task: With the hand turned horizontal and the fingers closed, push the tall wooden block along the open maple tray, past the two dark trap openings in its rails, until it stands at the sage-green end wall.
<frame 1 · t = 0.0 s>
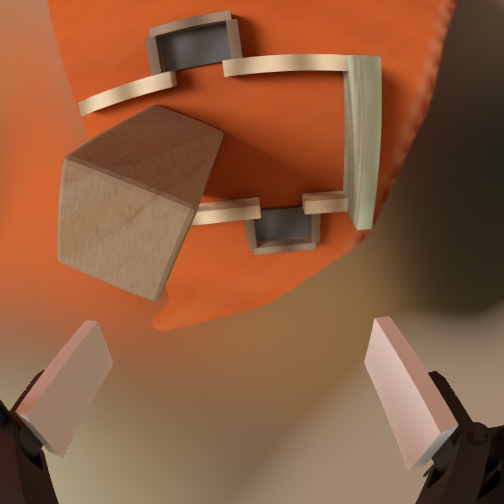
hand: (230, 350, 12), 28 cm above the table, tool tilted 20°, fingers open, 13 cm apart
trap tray: (228, 141, 33), on the table
wooden block: (175, 149, 34), resting in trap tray
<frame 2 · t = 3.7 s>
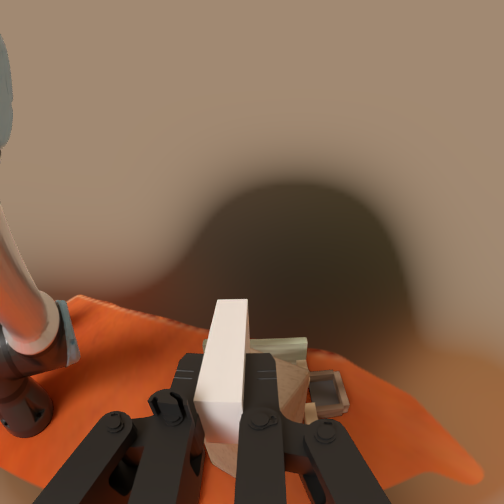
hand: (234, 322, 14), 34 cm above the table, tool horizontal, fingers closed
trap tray: (255, 425, 41), on the table
wooden block: (255, 459, 34), resting in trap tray
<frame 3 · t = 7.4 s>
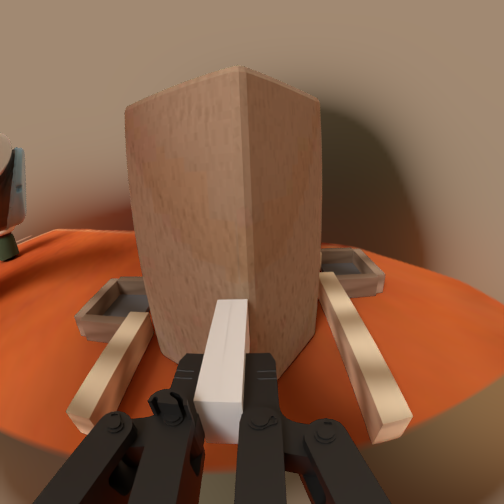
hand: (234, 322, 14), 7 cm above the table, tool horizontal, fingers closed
character mug: (10, 259, 49), on the table
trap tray: (242, 307, 30), on the table
wooden block: (239, 349, 23), resting in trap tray, touching gripper
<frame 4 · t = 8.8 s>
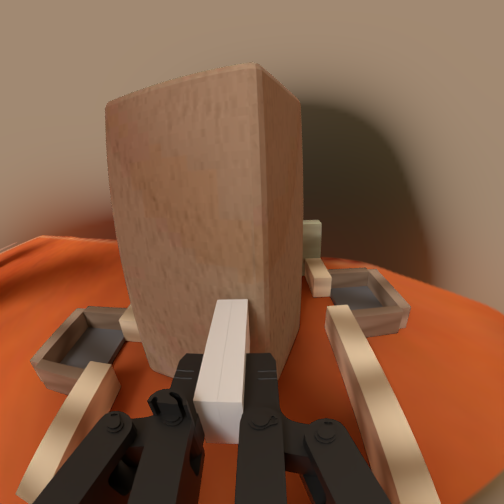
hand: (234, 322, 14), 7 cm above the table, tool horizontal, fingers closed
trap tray: (232, 352, 22), on the table
wooden block: (229, 353, 23), resting in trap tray, touching gripper
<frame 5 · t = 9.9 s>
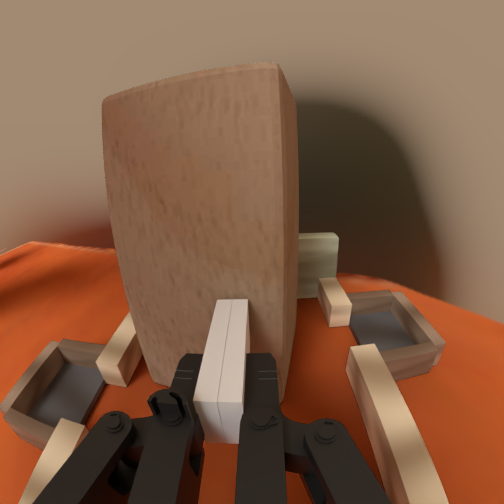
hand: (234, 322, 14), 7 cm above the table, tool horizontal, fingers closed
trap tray: (234, 406, 17), on the table
wooden block: (230, 357, 22), resting in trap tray, touching gripper
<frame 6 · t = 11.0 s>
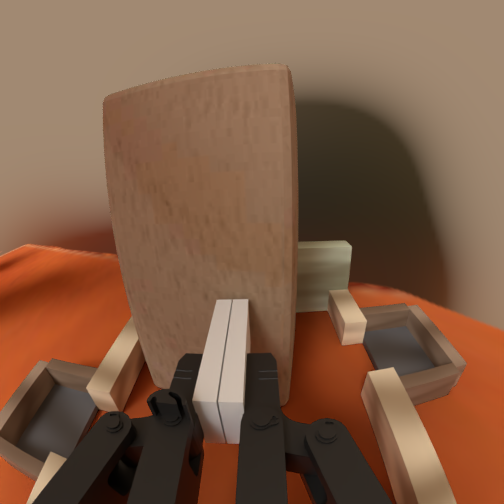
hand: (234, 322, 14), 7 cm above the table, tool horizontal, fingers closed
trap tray: (239, 438, 14), on the table
wooden block: (232, 359, 22), resting in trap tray, touching gripper
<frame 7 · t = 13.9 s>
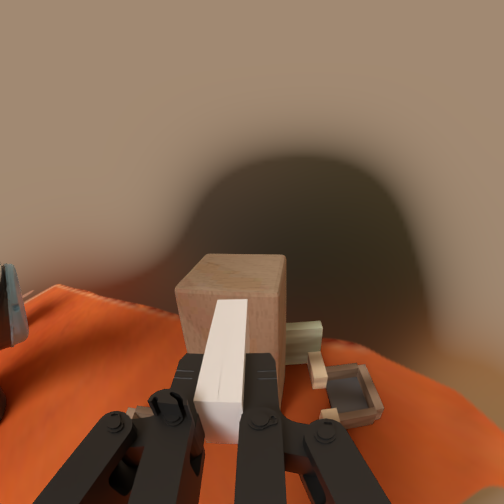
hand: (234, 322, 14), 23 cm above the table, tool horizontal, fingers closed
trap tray: (253, 442, 28), on the table
wooden block: (247, 398, 36), resting in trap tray
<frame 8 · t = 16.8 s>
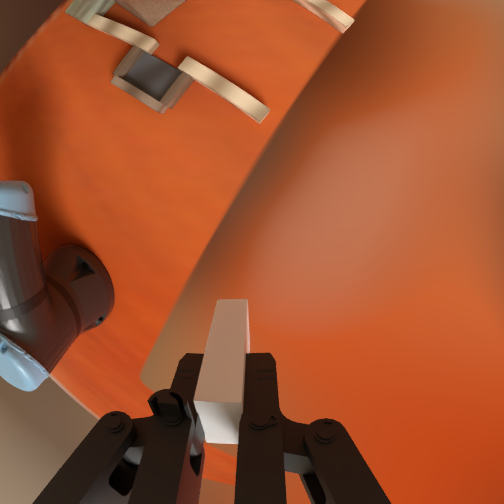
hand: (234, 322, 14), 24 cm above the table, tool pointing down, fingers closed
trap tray: (203, 6, 26), on the table
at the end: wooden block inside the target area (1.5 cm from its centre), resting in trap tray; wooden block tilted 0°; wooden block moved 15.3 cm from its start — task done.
